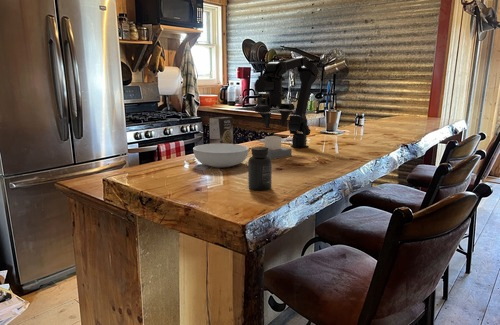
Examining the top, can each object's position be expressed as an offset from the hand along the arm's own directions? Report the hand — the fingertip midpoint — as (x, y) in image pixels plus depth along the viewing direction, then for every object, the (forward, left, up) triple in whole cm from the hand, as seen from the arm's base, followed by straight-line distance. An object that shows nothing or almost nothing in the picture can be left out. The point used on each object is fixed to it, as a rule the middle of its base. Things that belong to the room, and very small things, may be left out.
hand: (275, 127), depth 160 cm
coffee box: (+21, -11, -11) cm, 27 cm away
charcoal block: (+5, +5, -12) cm, 14 cm away
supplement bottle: (+42, +40, -11) cm, 59 cm away
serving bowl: (+33, +7, -12) cm, 36 cm away
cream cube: (+6, +5, -8) cm, 11 cm away
